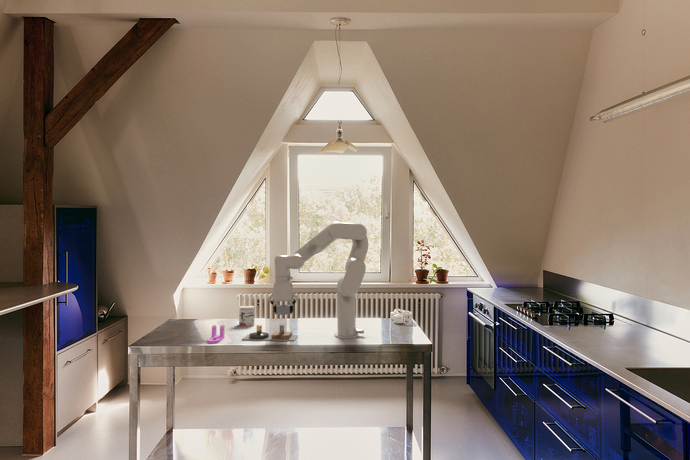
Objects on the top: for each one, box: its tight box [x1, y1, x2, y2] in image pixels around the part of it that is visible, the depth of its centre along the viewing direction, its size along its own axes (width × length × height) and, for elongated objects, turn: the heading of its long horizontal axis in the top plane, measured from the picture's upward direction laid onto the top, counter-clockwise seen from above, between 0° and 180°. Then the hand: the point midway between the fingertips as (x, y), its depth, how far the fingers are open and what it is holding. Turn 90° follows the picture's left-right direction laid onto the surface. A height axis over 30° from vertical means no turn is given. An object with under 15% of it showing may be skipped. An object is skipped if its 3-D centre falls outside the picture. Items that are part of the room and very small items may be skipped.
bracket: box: [207, 324, 225, 344], centre depth 238 cm, size 13×6×7 cm, turn 1°
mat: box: [241, 334, 299, 342], centre depth 243 cm, size 27×11×1 cm, turn 86°
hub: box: [248, 324, 270, 339], centre depth 244 cm, size 10×10×6 cm
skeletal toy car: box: [389, 308, 413, 326], centre depth 286 cm, size 20×11×7 cm, turn 5°
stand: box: [270, 324, 293, 339], centre depth 243 cm, size 9×9×6 cm
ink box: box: [238, 305, 255, 327], centre depth 275 cm, size 9×5×12 cm, turn 105°
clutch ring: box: [275, 304, 291, 316], centre depth 243 cm, size 7×7×4 cm
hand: (283, 313), depth 243 cm, fingers closed on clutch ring, 7 cm apart
